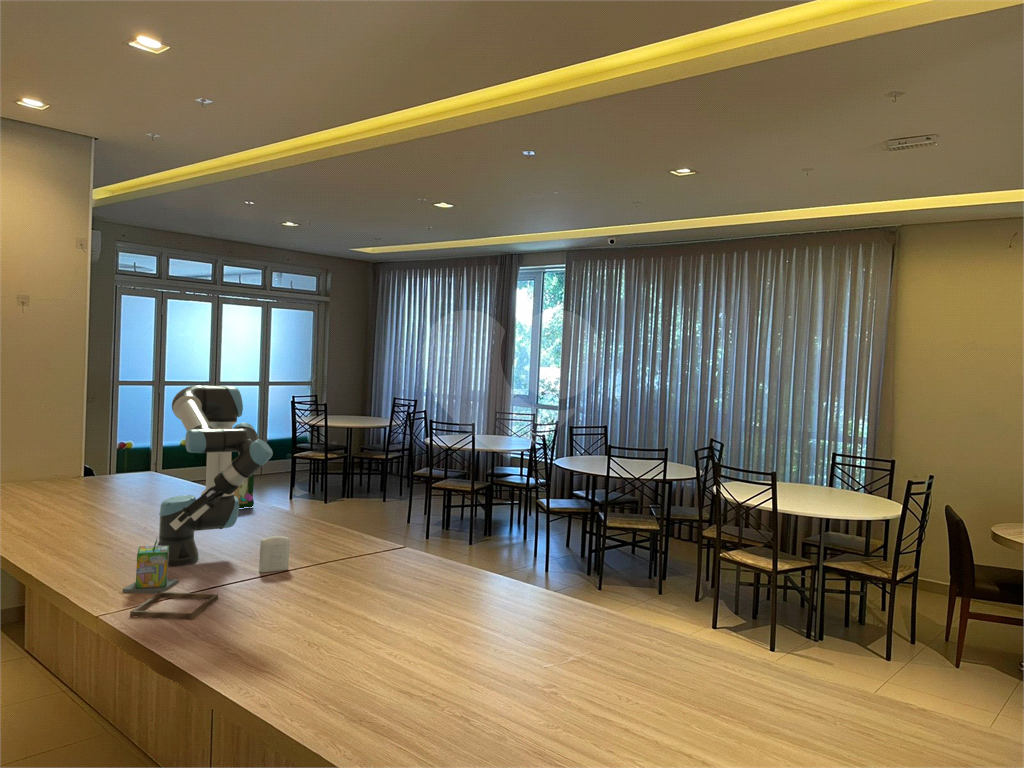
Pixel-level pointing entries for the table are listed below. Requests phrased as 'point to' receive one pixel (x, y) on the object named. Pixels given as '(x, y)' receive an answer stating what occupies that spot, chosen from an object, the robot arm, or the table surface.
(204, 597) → the holder frame
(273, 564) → the white tombstone
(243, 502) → the container
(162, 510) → the robot arm
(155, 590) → the mat
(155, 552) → the chalk box
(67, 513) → the table surface
